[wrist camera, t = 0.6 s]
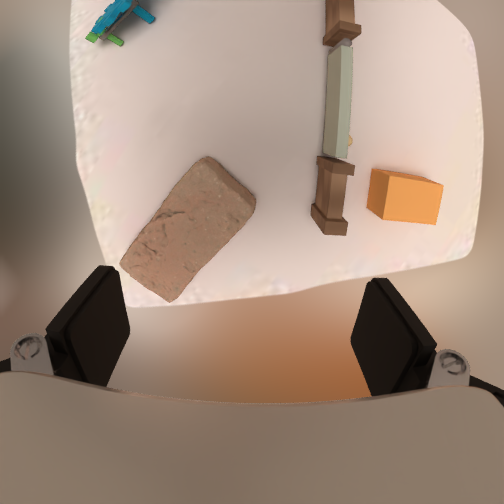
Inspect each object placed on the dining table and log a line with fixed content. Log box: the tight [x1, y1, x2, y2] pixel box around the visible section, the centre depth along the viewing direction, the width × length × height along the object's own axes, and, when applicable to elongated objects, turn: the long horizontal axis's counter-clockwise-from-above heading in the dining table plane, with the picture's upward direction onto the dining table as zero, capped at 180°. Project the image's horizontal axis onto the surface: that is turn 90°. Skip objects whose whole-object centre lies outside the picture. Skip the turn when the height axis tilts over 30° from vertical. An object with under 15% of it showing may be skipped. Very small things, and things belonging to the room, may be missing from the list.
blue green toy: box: [85, 0, 155, 46], centre depth 21 cm, size 11×6×10 cm
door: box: [323, 38, 353, 159], centre depth 26 cm, size 13×2×5 cm, turn 178°
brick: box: [119, 157, 256, 303], centre depth 33 cm, size 17×8×5 cm, turn 138°
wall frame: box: [311, 0, 361, 236], centre depth 25 cm, size 30×2×6 cm, turn 177°
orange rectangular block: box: [367, 169, 443, 225], centre depth 31 cm, size 5×8×5 cm, turn 87°
